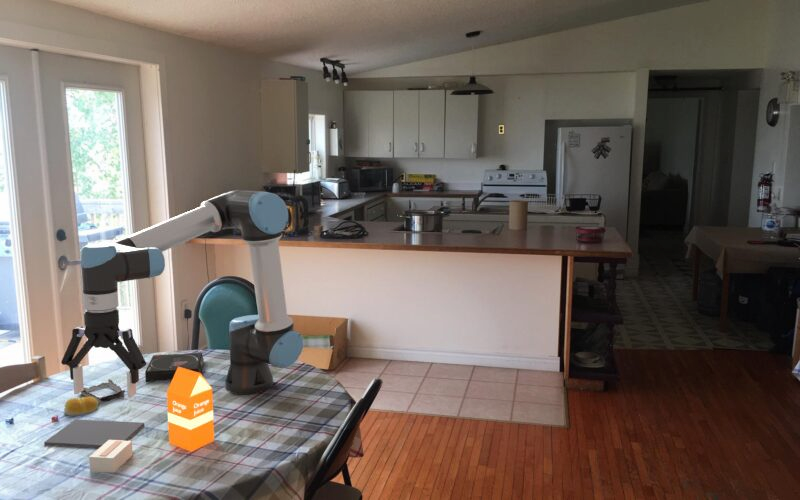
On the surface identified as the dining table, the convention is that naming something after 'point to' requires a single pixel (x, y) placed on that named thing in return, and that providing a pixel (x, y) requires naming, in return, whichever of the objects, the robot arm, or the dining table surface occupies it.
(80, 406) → the bread roll
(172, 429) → the orange juice
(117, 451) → the block
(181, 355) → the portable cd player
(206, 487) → the dining table surface
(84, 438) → the charcoal mat
